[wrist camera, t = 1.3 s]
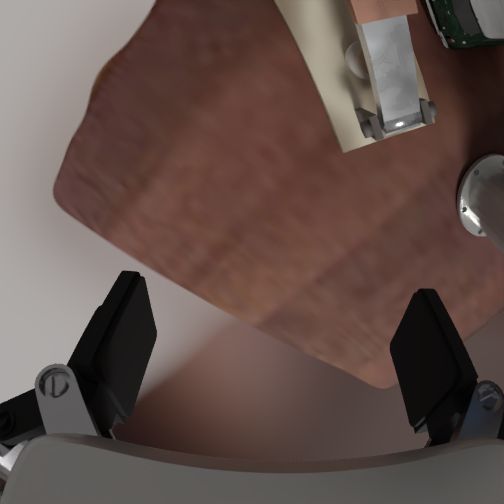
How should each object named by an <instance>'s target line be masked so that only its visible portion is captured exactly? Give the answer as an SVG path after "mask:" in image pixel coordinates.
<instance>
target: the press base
mask: <svg viewBox="0 0 504 504" xmlns="http://www.w3.org/2000/svg"><path fill="white" fill-rule="evenodd" d="M273 2H274V4H275V5H276V7H277V9H278V11H279V13H280V15H281V16H282V18H283V20H284V22H285V24H286V26H287V28H288V30H289V32H290V34H291V36H292V38H293V40H294V42H295V44H296V46H297V48H298V50H299V52H300V54H301V56H302V58H303V60H304V62H305V65H306V67H307V69H308V71H309V73H310V76H311V78H312V80H313V82H314V85H315V87H316V89H317V91H318V94H319V96H320V98H321V101H322V103H323V106H324V108H325V111H326V113H327V115H328V118H329V120H330V123H331V126H332V128H333V131H334V133H335V136H336V139H337V141H338V144H339V147H340V149H341V151H342V152H343V153H345V152H348V151H350V150H353V149H356V148H359V147H362V146H365V145H367V144H370V143H373V142H376V141H379V140H382V139H385V138H388V137H391V136H394V135H397V134H400V133H403V132H406V131H410V130H413V129H416V128H419V127H422V126H426V125H429V124H432V123H435V120H434V117H435V116H437V114H438V112H437V108H436V106H435V104H434V103H433V102H432V101H429V97H428V94H427V90H426V87H425V84H424V81H423V77H422V74H421V71H420V68H419V65H418V62H417V60H416V57H415V54H414V51H413V55H414V61H415V68H416V76H417V84H418V93H419V103H420V112H421V115H422V122H421V125H420V126H416V127H413V128H410V129H407V130H404V131H401V132H398V133H395V134H391V135H388V136H386V135H385V134H384V133H383V131H382V130H381V127H380V124H379V120H378V117H377V115H378V114H377V109H376V104H375V99H374V94H373V90H372V85H371V81H370V80H365V79H360V78H358V77H356V76H355V75H353V74H352V73H351V72H350V71H349V69H348V68H347V66H346V63H345V52H346V50H347V48H348V47H349V46H350V45H351V44H352V43H354V42H356V41H360V39H359V35H358V32H357V29H356V25H355V23H354V22H353V20H352V17H351V14H350V11H349V8H348V5H347V3H346V0H273Z"/></svg>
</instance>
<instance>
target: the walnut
mask: <svg viewBox="0 0 504 504" xmlns="http://www.w3.org/2000/svg"><path fill="white" fill-rule="evenodd" d="M345 63H346V66H347V68H348V69H349V71H350V72H351V73H352V74H353V75H355V76H356V77H358V78H360V79H365V80H370V77H369V72H368V68H367V64H366V60H365V57H364V53H363V49H362V46H361V42H360V41H356V42H354V43H352V44H351V45H350V46H349V47H348V48H347V50H346V52H345Z"/></svg>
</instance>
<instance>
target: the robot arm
mask: <svg viewBox="0 0 504 504" xmlns="http://www.w3.org/2000/svg"><path fill="white" fill-rule="evenodd" d="M457 212H458V217H459V219H460V221H461V223H462V224H463V226H464V227H465V228H466V229H467V230H468V231H469V232H470V233H472V234H473V235H476V236H488V238H489V239H490V240H491V241H492V242H493V243H494V244H495V245H496V246H497V247H498V248H499V250H500V251H501V252H502V253H503V254H504V156H503V155H501V154H496V153H493V154H487V155H485V156H482V157H481V158H479V159H478V160H476V161H475V162H474V163H473V164H472V165H471V166H470V168H469V169H468V170H467V172H466V173H465V175H464V177H463V179H462V181H461V184H460V186H459V190H458V194H457ZM156 337H157V330H156V326H155V322H154V318H153V313H152V309H151V304H150V300H149V295H148V291H147V286H146V281H145V278H144V277H143V276H140V273H139V272H135V271H122V272H121V273H120V275H119V276H118V278H117V280H116V282H115V283H114V285H113V287H112V288H111V290H110V292H109V294H108V295H107V297H106V299H105V300H104V302H103V304H102V305H101V306H99V307H98V308H97V310H96V311H95V313H94V315H93V316H92V318H91V320H90V322H89V324H88V325H87V327H86V329H85V331H84V333H83V335H82V336H81V338H80V340H79V342H78V344H77V346H76V348H75V350H74V352H73V354H72V356H71V358H70V360H69V362H68V364H67V366H66V365H63V364H53V365H49V366H47V367H45V368H44V369H43V370H42V371H41V372H40V373H39V374H38V376H37V378H36V381H35V388H34V389H32V390H30V391H27V392H25V393H23V394H21V395H19V396H16V397H14V398H12V399H10V400H8V401H5V402H3V403H1V404H0V504H504V394H503V392H502V390H501V388H500V387H499V386H498V385H497V384H495V383H494V382H491V381H481V382H480V383H477V380H476V379H477V378H478V375H477V373H476V371H475V368H474V366H473V364H472V361H471V359H470V357H469V355H468V352H467V350H466V348H465V346H464V344H463V342H462V340H461V338H460V336H459V334H458V332H457V330H456V328H455V326H454V324H453V322H452V320H451V318H450V316H449V314H448V312H447V310H446V308H445V306H444V305H443V303H442V301H441V299H440V297H439V295H438V294H437V292H436V290H435V289H424V288H421V289H419V290H418V291H417V292H416V293H414V294H413V296H412V298H411V300H410V303H409V305H408V307H407V309H406V312H405V314H404V316H403V318H402V320H401V322H400V324H399V326H398V329H397V331H396V333H395V335H394V337H393V339H392V341H391V343H390V353H391V356H392V359H393V363H394V366H395V370H396V373H397V377H398V380H399V384H400V388H401V392H402V395H403V399H404V403H405V407H406V411H407V415H408V419H409V423H410V425H411V426H412V427H414V431H415V434H416V433H422V432H427V431H428V433H429V438H428V440H427V442H426V444H425V446H424V448H422V449H416V450H411V451H405V452H399V453H392V454H387V455H378V456H371V457H362V458H351V459H339V460H322V461H258V460H240V459H228V458H217V457H208V456H200V455H193V454H186V453H179V452H173V451H168V450H162V449H156V448H150V447H146V446H141V445H136V444H131V443H127V442H123V441H118V440H115V437H114V435H113V433H112V431H111V428H112V426H113V423H114V422H118V423H122V424H124V423H125V420H126V417H130V416H131V415H132V412H133V409H134V405H135V402H136V399H137V396H138V392H139V390H140V386H141V383H142V380H143V377H144V374H145V371H146V367H147V365H148V362H149V359H150V356H151V353H152V350H153V347H154V344H155V341H156Z"/></svg>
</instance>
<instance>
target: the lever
mask: <svg viewBox="0 0 504 504" xmlns="http://www.w3.org/2000/svg"><path fill="white" fill-rule="evenodd" d="M346 3H347V5H348V8H349V11H350V14H351V17H352V20H353V22H354V23H355V25H356V29H357V32H358V35H359V39H360V42H361V46H362V49H363V53H364V57H365V60H366V64H367V68H368V72H369V77H370V81H371V85H372V90H373V94H374V99H375V104H376V109H377V114H378V115H377V117H378V120H379V124H380V127H381V130H382V131H383V133H384V134H385V135H386V136H388V135H391V134H395V133H398V132H401V131H404V130H407V129H410V128H413V127H416V126H420V125H421V122H422V115H421V112H420V103H419V93H418V84H417V76H416V68H415V61H414V55H413V48H412V43H411V37H410V32H409V27H408V22H407V17H406V15H409V14H415V13H418V9H417V5H416V0H346Z"/></svg>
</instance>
